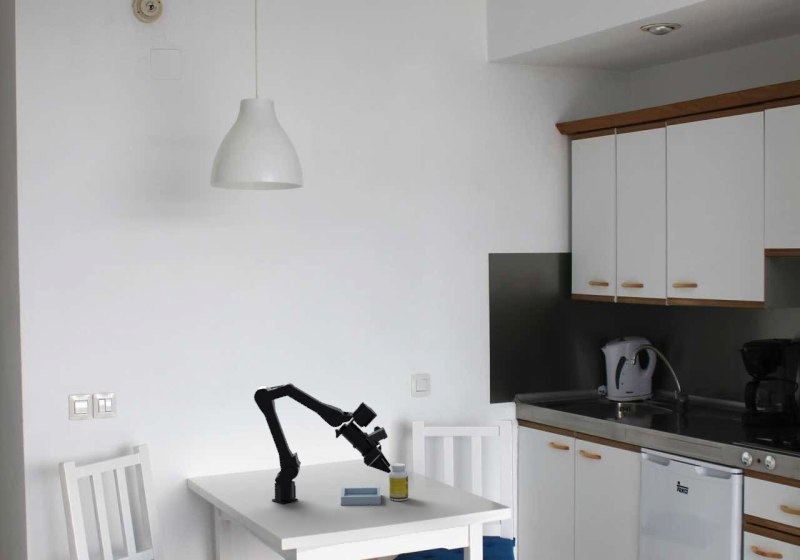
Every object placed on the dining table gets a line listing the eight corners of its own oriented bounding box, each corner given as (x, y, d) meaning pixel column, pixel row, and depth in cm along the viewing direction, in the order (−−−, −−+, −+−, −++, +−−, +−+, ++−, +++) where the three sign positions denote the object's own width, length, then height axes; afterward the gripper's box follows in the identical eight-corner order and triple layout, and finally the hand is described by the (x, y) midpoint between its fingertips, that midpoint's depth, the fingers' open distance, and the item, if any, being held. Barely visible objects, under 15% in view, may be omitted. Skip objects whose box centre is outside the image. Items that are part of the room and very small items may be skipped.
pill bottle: (406, 502, 305) (406, 467, 304) (387, 501, 306) (387, 466, 306) (410, 497, 311) (409, 463, 311) (391, 496, 312) (391, 462, 312)
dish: (380, 504, 302) (380, 496, 302) (341, 504, 301) (340, 497, 301) (380, 494, 315) (379, 487, 315) (342, 495, 314) (342, 487, 314)
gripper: (373, 424, 299) (407, 457, 299) (373, 415, 317) (405, 446, 318) (349, 449, 298) (384, 482, 299) (350, 438, 317) (383, 469, 317)
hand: (389, 469), depth 308 cm, fingers open, 9 cm apart
